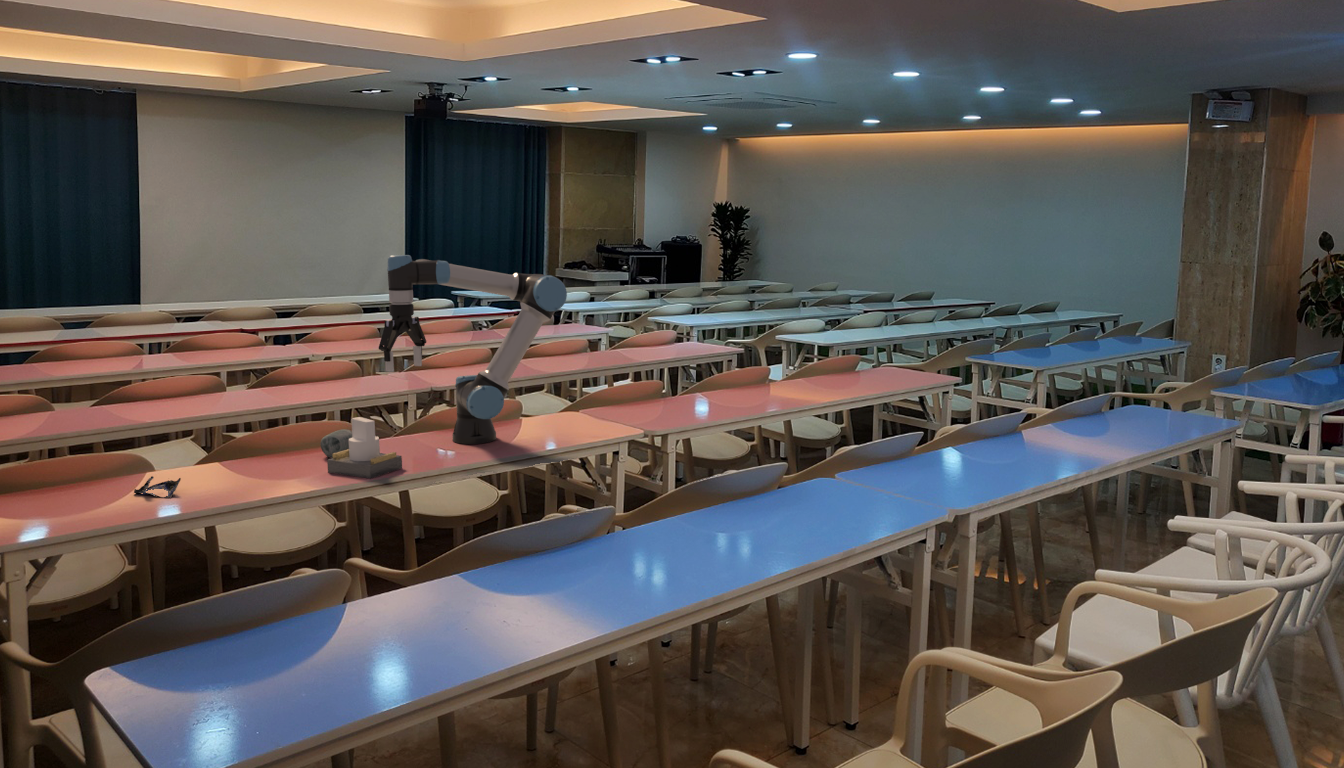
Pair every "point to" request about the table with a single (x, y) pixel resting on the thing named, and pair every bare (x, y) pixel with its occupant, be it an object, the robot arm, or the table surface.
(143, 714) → the table surface
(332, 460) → the dark grey flat block
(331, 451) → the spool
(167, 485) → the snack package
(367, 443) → the base with upright slab
